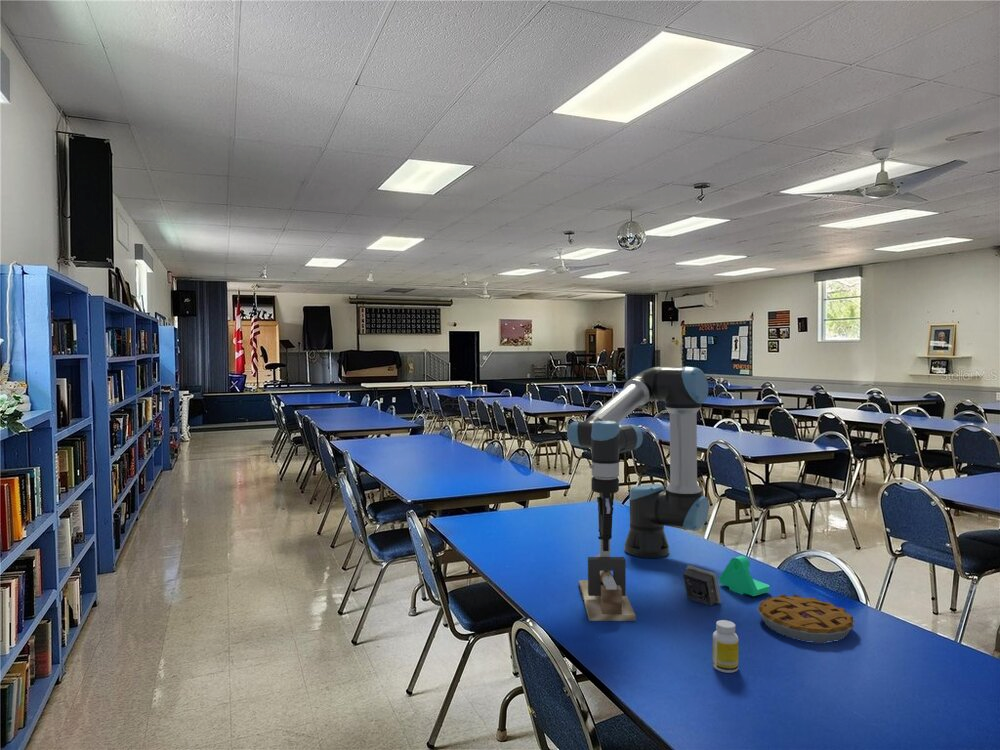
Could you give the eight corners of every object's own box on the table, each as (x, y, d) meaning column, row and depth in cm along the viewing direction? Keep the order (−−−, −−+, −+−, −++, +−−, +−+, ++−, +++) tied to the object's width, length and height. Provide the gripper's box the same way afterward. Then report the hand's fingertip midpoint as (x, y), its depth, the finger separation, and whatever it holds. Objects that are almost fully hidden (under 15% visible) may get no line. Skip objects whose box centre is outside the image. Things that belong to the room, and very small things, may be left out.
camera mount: (771, 594, 180) (771, 559, 180) (753, 600, 176) (753, 564, 176) (736, 581, 190) (736, 548, 190) (719, 586, 186) (719, 552, 186)
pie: (739, 618, 164) (739, 599, 164) (799, 604, 173) (799, 586, 173) (810, 654, 144) (810, 633, 144) (874, 636, 153) (874, 616, 153)
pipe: (604, 564, 187) (604, 553, 187) (618, 595, 163) (618, 583, 163) (593, 564, 187) (593, 553, 187) (605, 595, 163) (605, 583, 163)
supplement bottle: (743, 671, 136) (744, 627, 136) (722, 675, 135) (722, 630, 135) (728, 660, 142) (728, 617, 141) (707, 663, 140) (707, 620, 140)
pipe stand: (619, 585, 187) (619, 558, 187) (635, 620, 162) (635, 590, 162) (579, 585, 188) (579, 558, 187) (589, 620, 163) (589, 590, 162)
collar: (624, 592, 174) (623, 556, 173) (625, 595, 171) (625, 559, 171) (587, 592, 174) (587, 556, 174) (588, 595, 172) (588, 559, 171)
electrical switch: (721, 604, 173) (720, 571, 172) (711, 610, 170) (709, 577, 169) (692, 593, 181) (690, 562, 180) (681, 600, 177) (679, 568, 177)
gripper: (588, 472, 180) (588, 553, 181) (594, 481, 167) (594, 569, 168) (614, 472, 180) (614, 553, 181) (622, 481, 167) (622, 569, 168)
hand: (604, 561), depth 174 cm, fingers closed
